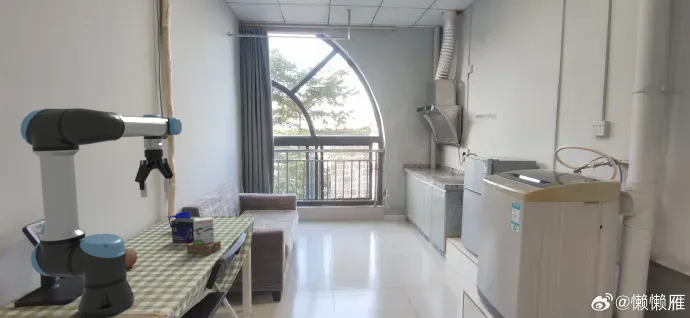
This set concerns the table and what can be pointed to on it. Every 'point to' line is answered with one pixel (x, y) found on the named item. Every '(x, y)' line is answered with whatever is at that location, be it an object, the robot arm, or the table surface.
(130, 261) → the fruit
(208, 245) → the walnut block
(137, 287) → the table surface
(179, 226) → the box
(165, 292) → the table surface
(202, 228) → the ink box
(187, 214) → the mug
